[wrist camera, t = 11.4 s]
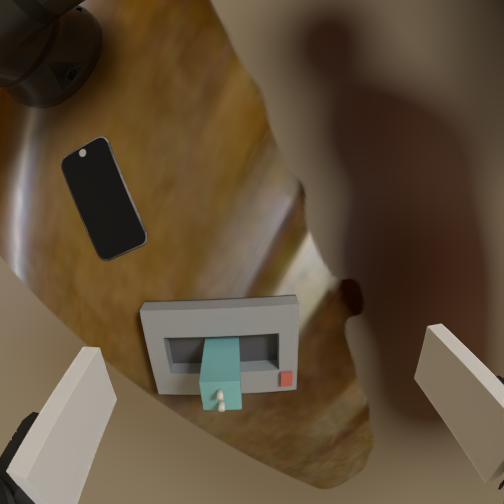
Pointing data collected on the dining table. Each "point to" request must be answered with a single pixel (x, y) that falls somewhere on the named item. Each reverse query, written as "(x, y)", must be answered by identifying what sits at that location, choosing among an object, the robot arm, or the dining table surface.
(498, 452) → the robot arm
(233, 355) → the block
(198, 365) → the grey slotted tray
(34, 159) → the dining table surface
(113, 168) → the smartphone
